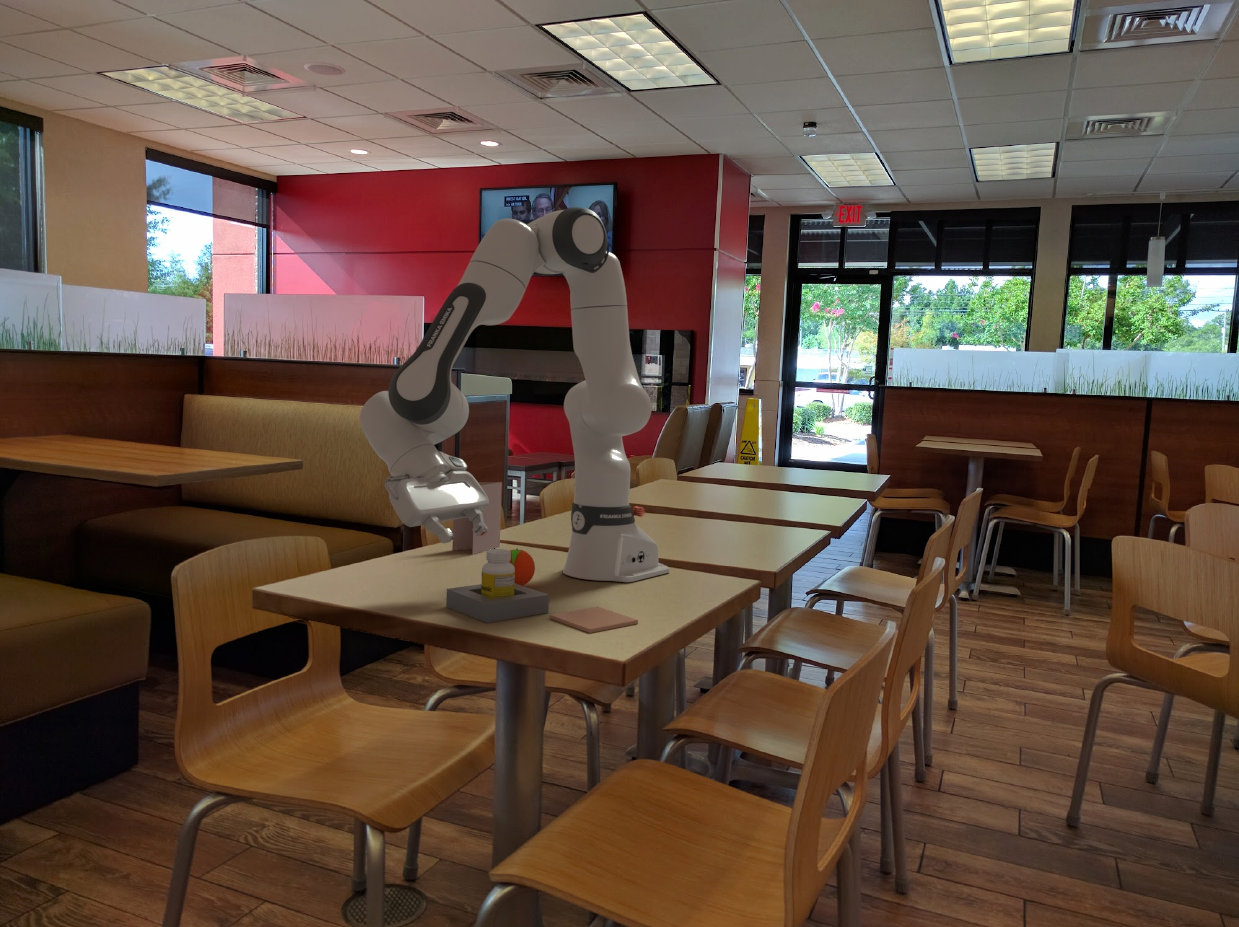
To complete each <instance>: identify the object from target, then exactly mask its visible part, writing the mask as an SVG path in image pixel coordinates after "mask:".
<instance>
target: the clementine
mask: <svg viewBox="0 0 1239 927" xmlns="http://www.w3.org/2000/svg"><path fill="white" fill-rule="evenodd" d="M508 550H509V551H511V560H510V561H509V563H511V564H512V565H513V566H514V568H515V580H514V583H515V584H518V585H521V586H525V585H527V584H528V583H530V581H531V580H532V579H533V577H534V575H535V570H536V564H535V561H534V559H533V557H532V555H531V554H529V552H527V551H526V550H523V549H518V548H516V549H508Z"/></svg>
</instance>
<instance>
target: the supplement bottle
mask: <svg viewBox="0 0 1239 927" xmlns="http://www.w3.org/2000/svg"><path fill="white" fill-rule="evenodd" d="M509 550H510V549H504V548H503V549H502V548H495V549H491V550H488V551H486V552H485V553H486V557H485V558H486V561H487V563H486V562H485V563H484V564H483V565H482V567H481V595H483V596H486V597H488V598H491V599H493V598H500V597H507V596H514V580H515V568H514V566H513V565H512V564H511V563H509V561H510V560H511V551H509Z"/></svg>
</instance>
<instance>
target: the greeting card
mask: <svg viewBox="0 0 1239 927" xmlns="http://www.w3.org/2000/svg"><path fill="white" fill-rule="evenodd" d="M478 483H479V484H480V486H481V487H482V489H483V490H484V492H485V493H486V495H487V497H488V499H489V505H488V507H487V508H486V509H485V510H484V511H483V512H482V515H483V520H484V523H485V525H486V526H487V528H488V532H487V533H486V534H485V535H482V536H477V535H476V533H475V532H474V531H473V530H472V529H473V528H474V524H473V521H470V520H469V519H468V518H467V517H466V518H460V519H455V520H452V533H453V535H454V538H453V539H452V546H451V547H452V548H451V550H452V551H456V550H455V549H463V550H472V556H474V555H477V554H480V553H479V552H481V553H484V551H485V552H487V551H488V550H490V549H494V548H495V549H499V548H500V547H501V546H500V544H501V540H500V539H501V520H502V519H501V517H502V514H501V513H502V495H503V494H502V491H503V490H502V489H503V488H502V487H503V482H502V481H499V482H497V481H496V482H495V481H493V482H492V481H491V482H489V481H488V482H486V481H485V482H478ZM498 547H499V548H498ZM473 554H474V555H473Z"/></svg>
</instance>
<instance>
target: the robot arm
mask: <svg viewBox="0 0 1239 927" xmlns="http://www.w3.org/2000/svg"><path fill="white" fill-rule="evenodd" d="M618 258H619V257H617V256H616V255H615V254H614V253H612V252H610V243H609V240H608V233H607V229H606V227H605V225H604V222H603V221H602V219H601V218H600V216H599V215H598V214H597V213H596V212H595V211H594V210H591V209H588V208H587V207H578V206H577V207H576V206H575V207H574V206H573V207H568V208H566V209H561V210H555V211H551V212H548V213H545V215H542V216H541V217H538V218H536V219H532V220H530V221H527V222H523V221H521V220H518V219H514V218H501V219H499V220H497V221H495V222H494V223H492V225H491V226H490V228H489V229H488V230H487V232H486V233H485V235H484V236H483V237H482V238H481V240H480V243H479V244H478V245H477V247H476V249H475V251H474V252H473V254H472V256H471V258H470V261H469V262H468V265H467V267H466V269H465V270H464V273H463V275H462V277H461V278H460V280H459V282H458V284H457V286H456V287H455V288H453V290H452V291H451V292H450V293H449V294H448V296H447V298H446V299H445V300H444V302H443V303H442V305H441V307H440V309H439V311H438V312H437V314H436V315H435V317H434V318H433V321H432V323H431V324H430V326H429V328H428V329H427V331H426V333H425V335H424V336H423V338H422V340H421V341H420V343H419V345H418V346H417V348H416V350H415V351H414V352H413V353H412V355H410V357H409V358H408V359H407V360H406V361H405V362H404V363H402V365H400V366H399V367H398V368H397V370H396V371H395V372H394V373H393V375H392V377H391V378H390V381H389V385H388V390H382V391H379V392H377V393H375V394H374V395H372V396H371V397H370V398H369V399H367V400H366V402H365V403H364V405H363V406H362V408H361V410H360V411H359V412H360V413H359V424H360V428H361V430H362V433H363V435H364V436H365V439H366V440H367V442H368V443H369V445H370V446H371V448H372V450H373V451H374V453H375V454H376V455H377V457H379V459H380V460H382V461H383V462H384V463H385V465H386V466H387V469H388V472H389V474H390V476H387V477H386V479H385V480H384V488H385V490H386V492H388V498H389V501H390V503H391V505H392V507H393V509H394V511H395V513H396V514H397V516H398V518H399V519H400V521H401V522H402V523H403V525H406V526H407V527H409V528H412V527H413V528H414V527H418V526H424V528H425V529H426V530H427V531H429V532H430V533H431V534H433V535H434V536H436V537H437V538H438V539H439V541H440V542H441V544H449V543H451V542H452V541H453V538H454V535H453V531H452V530H451V529H450V528H446V527H445V526H444V525H443V524H442V522H448V521H453V520H455V519H460V518H466V517H467V518H468V519H469V520H470V521H473V524H474V528H473V529H472V530H473V531H474V532H475V533H476V535H477V536H482V535H485V534H486V533H487V532H488V528H487V526H486V525H485V523H484V520H483V515H482V512H483V511H484V510H485V509H486V508H487V507H488V505H489V499H488V497H487V495H486V493H485V492H484V490H483V489H482V487H481V486H480V484H479V483H480V482H478V480H477V479H476V478H475V477H474V475H473V474H472V473H470V472H469V471H467V469H468V465H467V463H466V462H465V461H464V460H463V459H462V458H459V457H456V456H452V455H449V454H447V453H445V452H443V451H439V450H438V449H437V447H436V445H438V444H440V443H442V442H444V441H447V440H448V439H449V438H452V437H453V436H455V435H456V434H458V433H459V432H461V430H462V429H464V427H465V426H466V424H467V423H468V421H469V417H470V404H469V401H468V399H467V397H466V396H465V395H464V393H462V391H461V390H460V389H459V388H458V386H456V385H455V384H454V383H453V382H452V369H453V366H454V364H455V363H456V360H457V358H458V357H459V355H460V353H461V351H462V350H463V348H464V347H465V344H466V342H467V341H468V338H469V337H470V335H471V334H472V332H473V331H474V330H475V329H476V328H477V327H478V326H481V325H485V326H496V325H500V324H503V323H505V322H507V321H509V320H510V319H511V317H512V316H513V314H514V313H515V312H516V310H517V308H519V305H520V303H521V301H522V299H523V297H524V295H525V292H526V290H527V287H528V286H529V283H530V280H531V277H532V276H533V275H534V276H542V277H543V276H548V275H557V274H562V275H563V276H564V278H565V280H566V282H567V284H568V287H569V291H570V294H569V298H570V300H569V301H570V316H571V330H572V344H573V346H572V347H573V352H574V353H575V356H576V357H577V358H578V360H579V363H580V365H581V368H582V372H583V376H584V380H583V381H580V382H579V383H577V384H575V385H574V386H572V387H571V388H570V389H569V390H568V391H567V393H566V395H565V398H564V401H563V411H564V414H565V416H566V419H567V421H568V423H569V429H570V430H569V431H570V435H571V443H572V449H573V455H574V491H573V495H574V496H573V502H572V503H571V511H570V521H571V535H570V540H569V546H568V552H567V557H566V560H565V564H564V566H563V569H562V573H563V574H564V575H566V576H569V577H572V578H577V579H580V580H581V579H583V580H589V581H590V580H591V581H604V582H605V581H607V582H608V581H609V582H611V581H612V582H621V583H622V582H623V583H632V582H636V581H641V580H645V579H648V578H653V577H657V576H661V575H665V574H669V573H670V567H668V565H665V564H663V563H660V562H659V549H658V546H657V545H658V544H657V543H656V540H655V539H653V538H652V537H651V536H649V535H648V534H647V533H646V532H645V531H644V530H643V529H642V528H641V527H640V526H639V525H638V524H636V519H635V517H636V516H637V517H639V518H642V517H643V516H644V515H645V513H646V509H645V508H644V507H643V506H636V505H635V506H634V507H632V506H631V504H630V493H631V492H630V491H631V473H632V472H631V469H632V468H631V464H630V461H629V459H628V457H627V455H626V452H625V448H624V447H625V446H624V443H623V442H624V441H623V437H625V436H629V435H632V434H635V433H637V432H640V431H641V430H642V429H643V428H644V427H645V426H646V425H647V424H648V422H649V420H650V418H651V415H652V401H651V399H650V395H649V394H648V393H647V391H646V390H645V389H644V386H643V385H642V382H641V380H640V376H639V374H638V371H637V366H636V363H635V361H634V357H633V354H632V353H633V352H632V346H631V341H630V329H629V327H630V326H629V314H628V301H627V300H628V299H627V291H626V285H625V279H624V275H623V271H622V267H621V263H620V260H619V259H618Z"/></svg>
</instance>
